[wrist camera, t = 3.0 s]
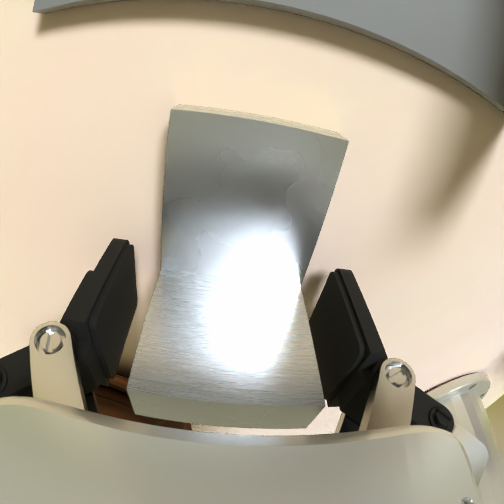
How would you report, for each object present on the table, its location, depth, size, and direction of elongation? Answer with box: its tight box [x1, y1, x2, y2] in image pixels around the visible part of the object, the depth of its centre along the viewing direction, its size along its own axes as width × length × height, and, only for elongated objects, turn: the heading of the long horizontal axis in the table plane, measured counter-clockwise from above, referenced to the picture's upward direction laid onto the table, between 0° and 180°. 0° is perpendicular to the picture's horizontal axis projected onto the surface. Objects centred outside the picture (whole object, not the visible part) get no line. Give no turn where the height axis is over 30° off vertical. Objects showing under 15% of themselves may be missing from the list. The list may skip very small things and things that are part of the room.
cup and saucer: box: [94, 374, 192, 431], centre depth 16 cm, size 12×12×6 cm
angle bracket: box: [127, 104, 349, 429], centre depth 8 cm, size 7×5×6 cm
